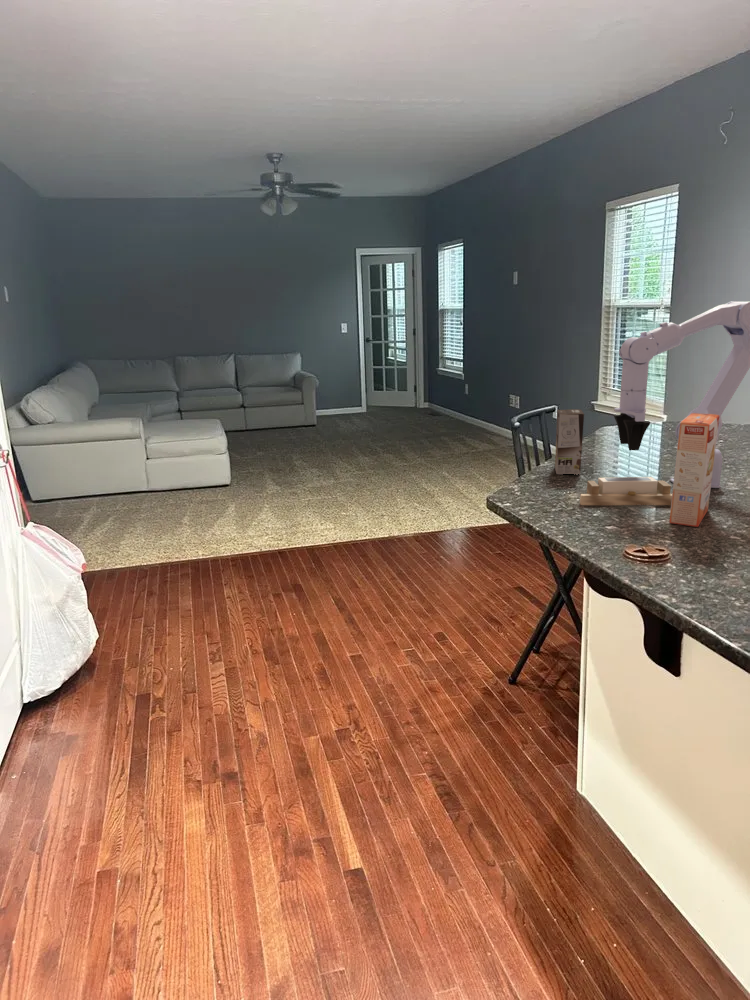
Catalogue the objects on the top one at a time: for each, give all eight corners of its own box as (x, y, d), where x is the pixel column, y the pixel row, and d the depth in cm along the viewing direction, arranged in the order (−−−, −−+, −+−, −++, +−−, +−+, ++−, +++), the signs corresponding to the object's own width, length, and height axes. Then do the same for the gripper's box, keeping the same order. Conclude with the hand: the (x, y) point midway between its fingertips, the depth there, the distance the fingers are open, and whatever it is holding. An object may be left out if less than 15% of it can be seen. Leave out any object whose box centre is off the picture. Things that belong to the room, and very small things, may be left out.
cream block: (649, 498, 162) (651, 476, 160) (655, 502, 158) (657, 480, 157) (597, 498, 162) (598, 477, 161) (601, 503, 158) (603, 481, 157)
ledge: (673, 497, 161) (675, 480, 160) (683, 505, 155) (684, 487, 154) (575, 497, 163) (576, 480, 162) (581, 505, 156) (582, 487, 155)
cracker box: (700, 528, 139) (711, 423, 133) (668, 524, 142) (677, 421, 136) (710, 510, 150) (721, 413, 145) (680, 507, 153) (689, 411, 148)
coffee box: (581, 475, 183) (584, 413, 179) (555, 474, 185) (558, 413, 180) (578, 467, 192) (581, 408, 188) (554, 467, 193) (557, 408, 189)
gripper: (608, 386, 172) (605, 441, 176) (624, 393, 158) (619, 453, 162) (638, 386, 171) (634, 441, 175) (656, 393, 157) (651, 452, 161)
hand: (629, 446), depth 168 cm, fingers open, 7 cm apart
